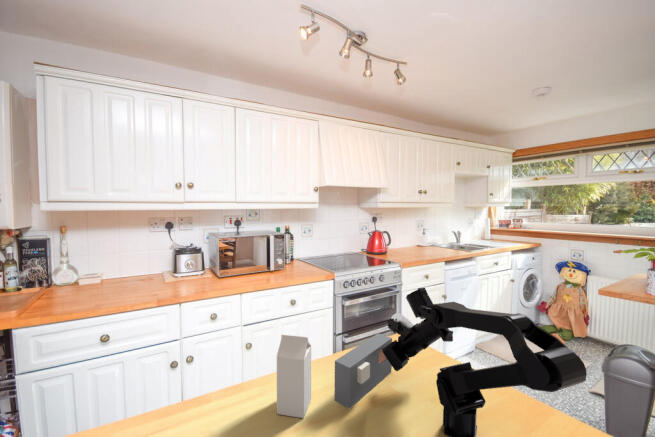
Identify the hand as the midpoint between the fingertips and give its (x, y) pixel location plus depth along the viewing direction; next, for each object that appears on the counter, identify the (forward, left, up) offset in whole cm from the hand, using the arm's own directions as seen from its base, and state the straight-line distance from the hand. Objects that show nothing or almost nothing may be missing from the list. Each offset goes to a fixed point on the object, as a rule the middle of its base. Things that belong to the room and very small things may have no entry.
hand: (388, 359), depth 86 cm
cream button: (+3, +10, -2) cm, 11 cm away
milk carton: (+17, +22, -7) cm, 29 cm away
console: (+5, +4, -7) cm, 10 cm away
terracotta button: (+3, -1, -2) cm, 4 cm away
